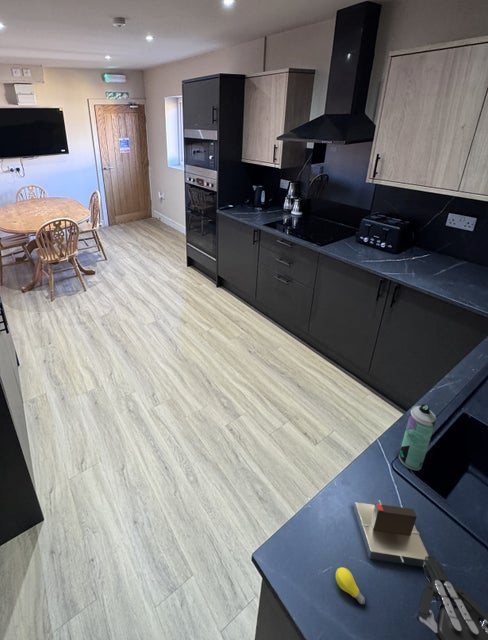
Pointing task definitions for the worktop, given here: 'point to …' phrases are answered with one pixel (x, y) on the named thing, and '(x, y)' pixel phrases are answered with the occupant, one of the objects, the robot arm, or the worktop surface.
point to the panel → (389, 540)
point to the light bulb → (348, 584)
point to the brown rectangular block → (393, 519)
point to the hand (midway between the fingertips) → (429, 559)
